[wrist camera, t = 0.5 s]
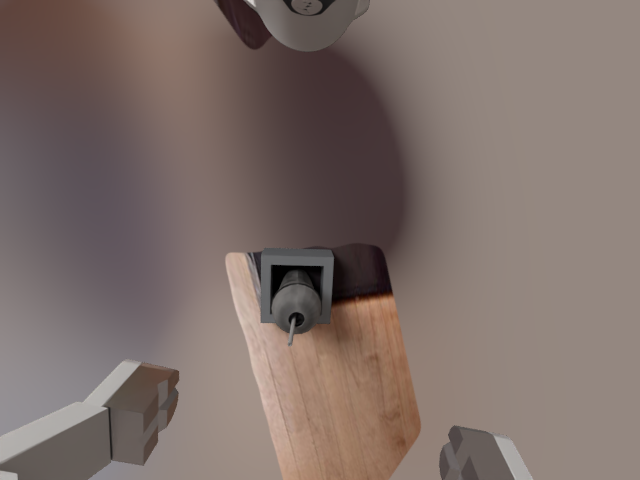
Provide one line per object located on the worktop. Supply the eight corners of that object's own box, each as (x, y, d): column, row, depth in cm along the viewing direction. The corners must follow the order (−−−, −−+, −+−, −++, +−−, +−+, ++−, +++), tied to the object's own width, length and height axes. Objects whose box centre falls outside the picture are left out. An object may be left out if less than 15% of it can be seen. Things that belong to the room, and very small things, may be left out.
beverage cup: (325, 277, 57) (340, 332, 37) (299, 307, 58) (300, 376, 38) (293, 252, 56) (291, 295, 36) (267, 283, 56) (251, 342, 37)
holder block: (264, 247, 55) (261, 255, 50) (330, 249, 56) (333, 257, 51) (263, 310, 57) (260, 322, 52) (327, 311, 58) (330, 323, 53)
